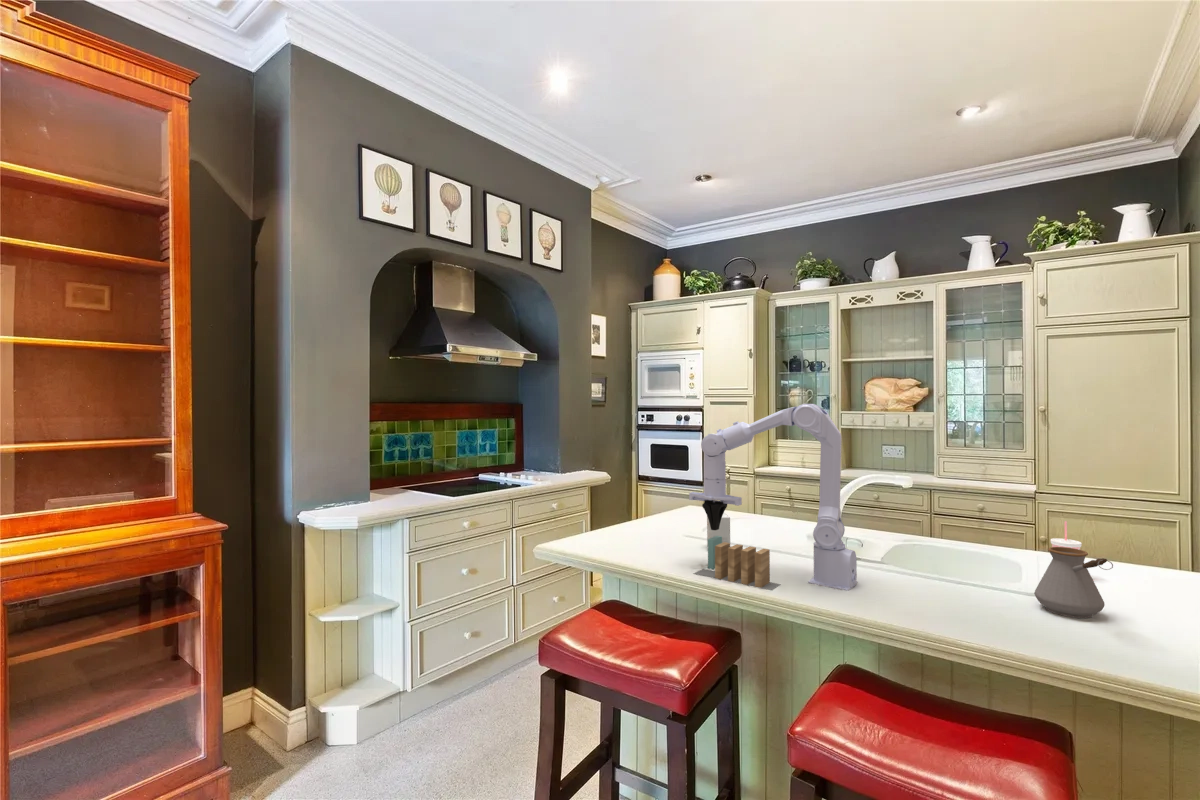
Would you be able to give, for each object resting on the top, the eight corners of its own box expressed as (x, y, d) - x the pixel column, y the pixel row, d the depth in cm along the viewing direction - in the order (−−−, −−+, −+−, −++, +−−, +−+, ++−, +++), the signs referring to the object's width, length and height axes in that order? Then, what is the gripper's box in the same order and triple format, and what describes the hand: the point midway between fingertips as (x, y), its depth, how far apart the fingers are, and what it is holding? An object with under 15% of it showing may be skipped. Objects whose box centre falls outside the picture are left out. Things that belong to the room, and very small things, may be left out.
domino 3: (756, 579, 142) (756, 547, 142) (747, 584, 138) (747, 551, 138) (750, 578, 143) (749, 546, 143) (741, 583, 139) (741, 550, 139)
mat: (781, 585, 138) (781, 584, 138) (771, 591, 134) (771, 590, 134) (703, 569, 151) (703, 568, 151) (692, 574, 147) (692, 573, 147)
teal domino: (722, 566, 155) (722, 536, 155) (713, 570, 151) (713, 540, 151) (716, 565, 156) (716, 535, 156) (707, 569, 152) (707, 539, 152)
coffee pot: (1025, 599, 128) (1025, 532, 128) (1088, 605, 124) (1087, 536, 124) (1069, 636, 108) (1069, 557, 108) (1146, 645, 104) (1145, 562, 104)
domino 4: (769, 582, 140) (769, 549, 140) (761, 587, 136) (761, 553, 136) (763, 581, 141) (763, 548, 141) (754, 586, 137) (754, 552, 137)
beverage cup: (1072, 581, 141) (1072, 524, 141) (1045, 574, 146) (1044, 519, 146) (1087, 578, 143) (1087, 522, 143) (1060, 572, 149) (1059, 518, 149)
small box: (730, 553, 168) (730, 517, 168) (711, 553, 168) (711, 517, 168) (725, 546, 176) (725, 512, 176) (706, 546, 176) (706, 512, 176)
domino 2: (742, 577, 144) (742, 545, 144) (734, 581, 140) (733, 549, 140) (736, 575, 145) (736, 544, 145) (727, 580, 141) (727, 548, 141)
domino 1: (730, 574, 146) (729, 543, 146) (720, 579, 142) (720, 546, 142) (724, 573, 147) (724, 542, 147) (715, 577, 143) (715, 545, 143)
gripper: (683, 478, 155) (683, 528, 155) (733, 482, 146) (733, 536, 146) (696, 475, 160) (696, 524, 160) (745, 479, 151) (745, 531, 151)
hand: (714, 529), depth 153 cm, fingers closed
